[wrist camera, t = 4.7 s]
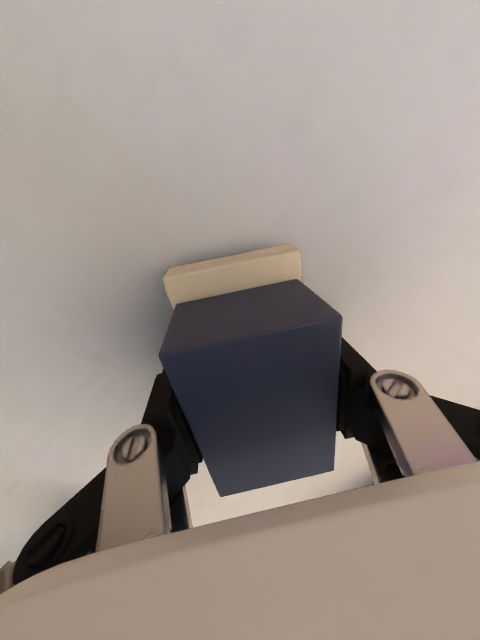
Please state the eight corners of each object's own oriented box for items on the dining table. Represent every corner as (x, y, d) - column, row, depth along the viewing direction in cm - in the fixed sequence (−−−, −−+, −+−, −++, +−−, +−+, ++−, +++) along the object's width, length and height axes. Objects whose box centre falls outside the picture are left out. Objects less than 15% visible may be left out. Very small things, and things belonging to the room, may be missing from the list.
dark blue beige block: (168, 267, 9) (131, 321, 5) (287, 243, 9) (355, 273, 5) (223, 435, 14) (229, 531, 10) (299, 418, 14) (336, 506, 10)
